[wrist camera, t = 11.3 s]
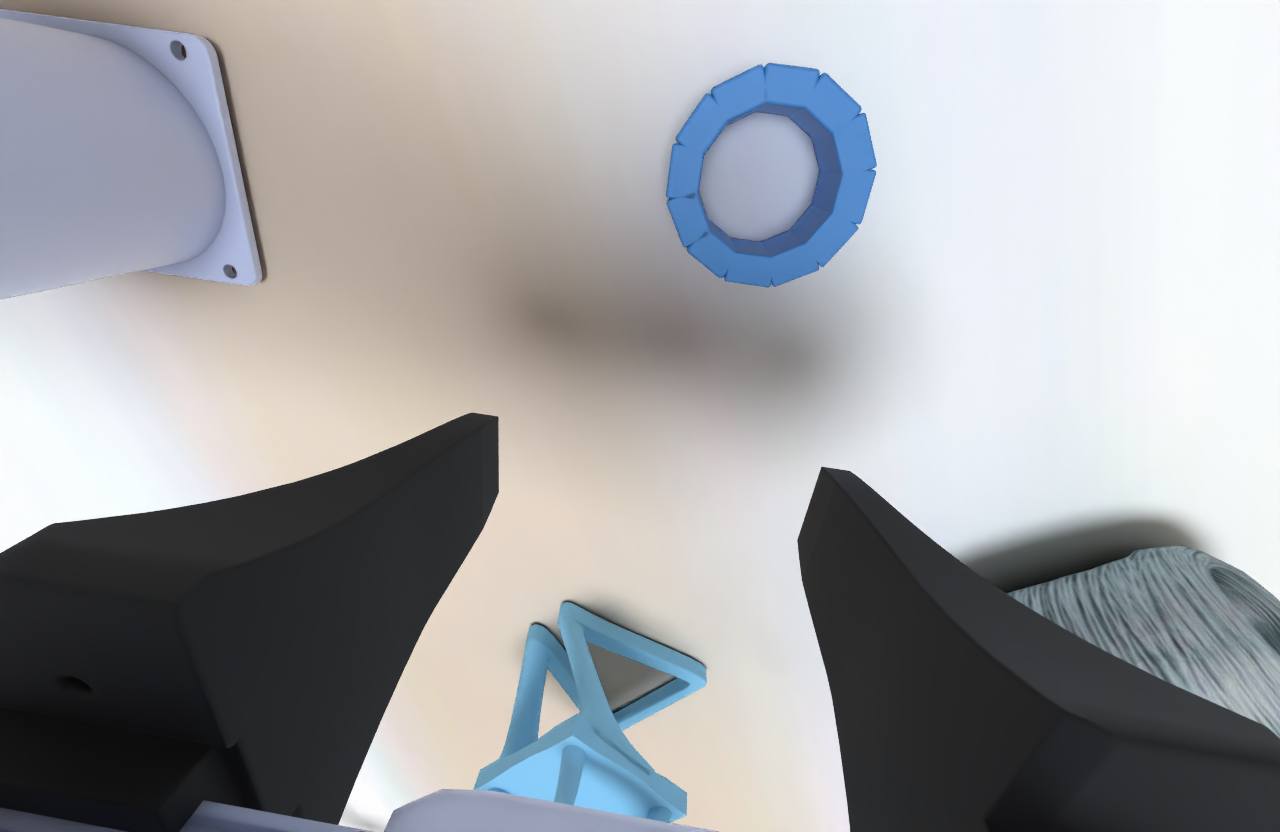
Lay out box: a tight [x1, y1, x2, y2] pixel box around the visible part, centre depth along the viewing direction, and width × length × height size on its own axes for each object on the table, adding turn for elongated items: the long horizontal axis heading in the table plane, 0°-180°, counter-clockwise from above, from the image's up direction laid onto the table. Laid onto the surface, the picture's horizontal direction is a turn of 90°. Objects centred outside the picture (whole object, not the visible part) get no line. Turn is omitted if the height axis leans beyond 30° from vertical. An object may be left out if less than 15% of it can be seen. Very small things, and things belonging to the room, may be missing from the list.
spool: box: [1007, 546, 1280, 738], centre depth 20 cm, size 14×10×10 cm
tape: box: [666, 63, 877, 287], centre depth 16 cm, size 6×6×3 cm
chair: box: [474, 602, 707, 823], centre depth 23 cm, size 8×8×12 cm
